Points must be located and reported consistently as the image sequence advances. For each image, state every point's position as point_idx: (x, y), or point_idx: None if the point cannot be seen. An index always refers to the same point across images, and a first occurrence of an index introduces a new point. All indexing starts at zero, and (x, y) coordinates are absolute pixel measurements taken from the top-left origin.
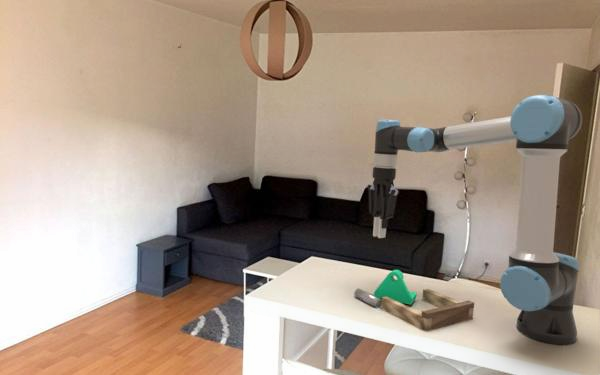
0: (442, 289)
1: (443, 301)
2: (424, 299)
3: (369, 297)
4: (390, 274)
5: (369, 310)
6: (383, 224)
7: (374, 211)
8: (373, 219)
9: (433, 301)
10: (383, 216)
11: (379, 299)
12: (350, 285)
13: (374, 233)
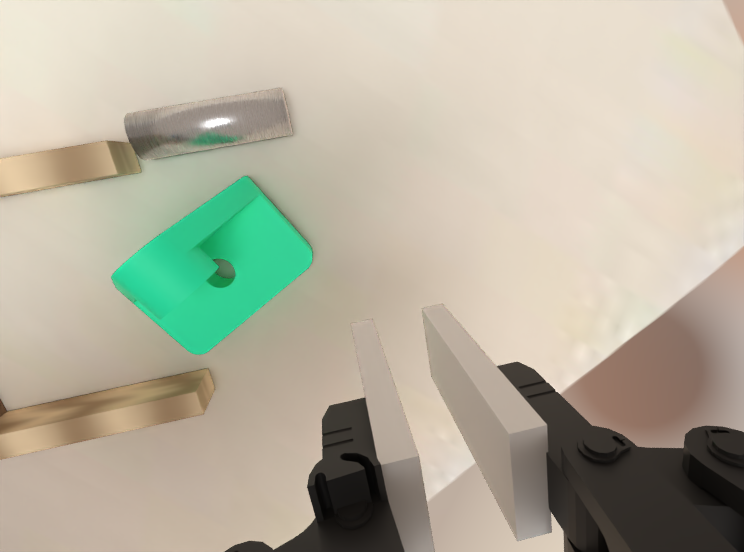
0: (299, 493)
1: (87, 408)
2: (195, 373)
3: (174, 109)
4: (151, 241)
5: (114, 74)
6: (341, 439)
7: (638, 511)
8: (565, 407)
9: (145, 387)
10: (330, 535)
11: (130, 139)
12: (431, 162)
13: (431, 320)
